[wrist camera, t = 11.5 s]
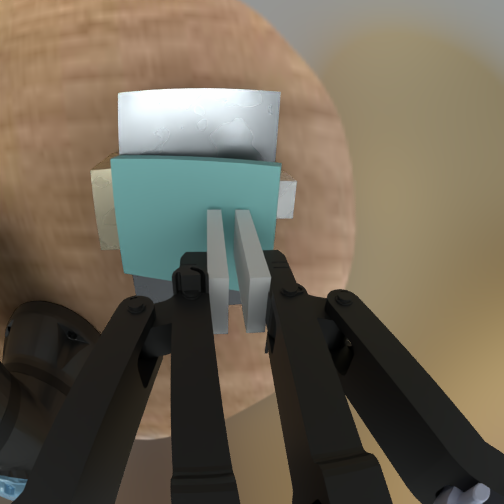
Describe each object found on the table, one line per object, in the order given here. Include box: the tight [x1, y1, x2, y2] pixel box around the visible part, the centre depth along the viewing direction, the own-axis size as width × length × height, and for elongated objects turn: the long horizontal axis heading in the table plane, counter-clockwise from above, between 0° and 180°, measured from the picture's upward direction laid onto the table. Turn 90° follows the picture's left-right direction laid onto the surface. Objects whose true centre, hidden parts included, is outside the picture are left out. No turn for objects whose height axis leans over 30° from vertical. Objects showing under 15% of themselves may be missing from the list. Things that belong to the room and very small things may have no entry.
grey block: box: [118, 88, 281, 305], centre depth 24 cm, size 10×16×8 cm, turn 177°
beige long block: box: [90, 153, 297, 250], centre depth 23 cm, size 15×6×6 cm, turn 87°
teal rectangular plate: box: [110, 155, 282, 291], centre depth 18 cm, size 10×8×1 cm
